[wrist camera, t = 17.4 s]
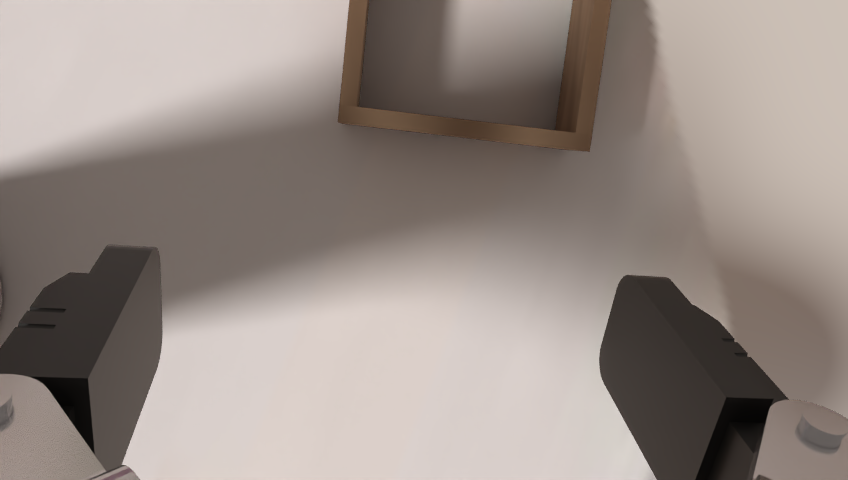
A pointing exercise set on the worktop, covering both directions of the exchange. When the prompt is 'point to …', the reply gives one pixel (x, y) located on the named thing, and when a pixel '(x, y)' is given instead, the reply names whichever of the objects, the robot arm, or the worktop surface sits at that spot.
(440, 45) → the worktop surface
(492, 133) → the walnut box
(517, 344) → the worktop surface
